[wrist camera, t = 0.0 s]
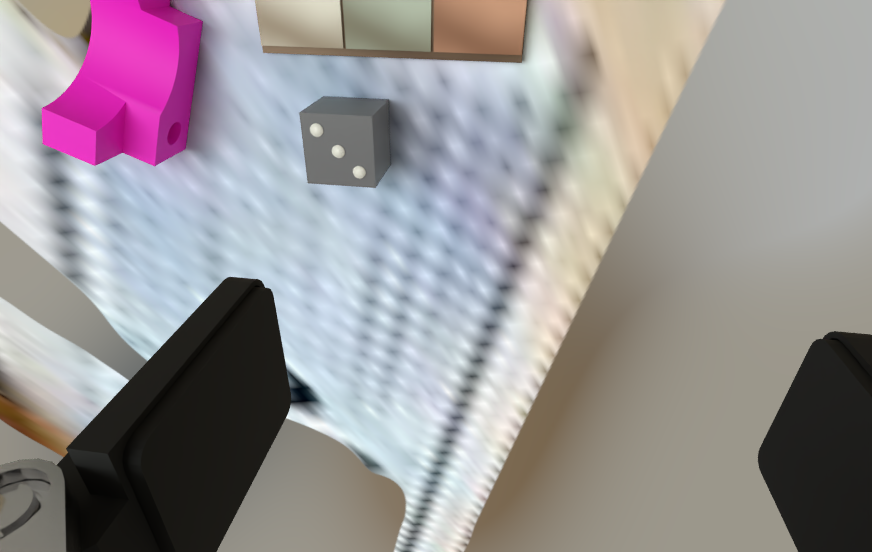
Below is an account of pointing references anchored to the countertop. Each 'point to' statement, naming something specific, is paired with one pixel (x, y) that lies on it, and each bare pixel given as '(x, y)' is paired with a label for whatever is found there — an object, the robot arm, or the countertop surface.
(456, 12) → the striped panel
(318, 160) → the die
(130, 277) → the countertop surface
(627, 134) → the countertop surface
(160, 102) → the toy block
